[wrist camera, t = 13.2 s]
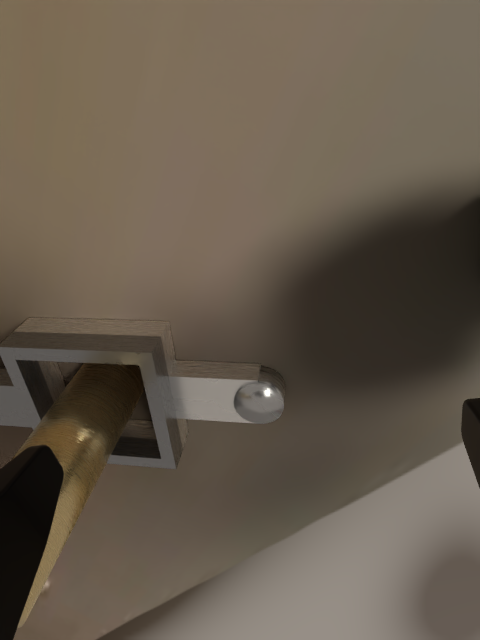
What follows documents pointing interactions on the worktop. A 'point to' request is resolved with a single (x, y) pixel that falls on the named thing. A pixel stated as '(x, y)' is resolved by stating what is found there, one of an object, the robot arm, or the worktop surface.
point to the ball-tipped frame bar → (158, 377)
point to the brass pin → (82, 446)
